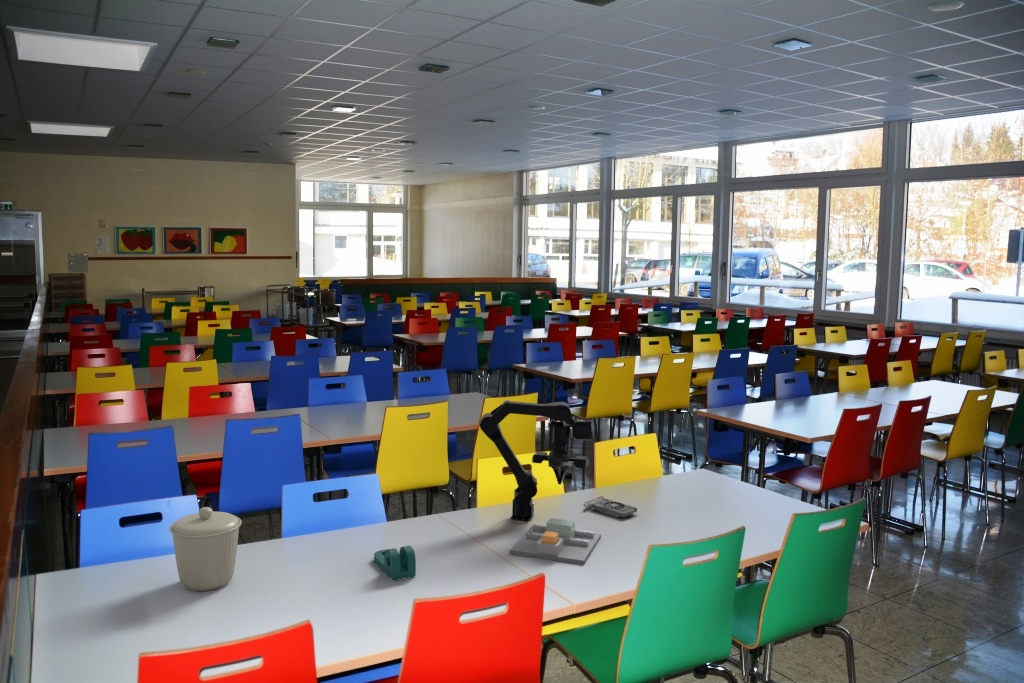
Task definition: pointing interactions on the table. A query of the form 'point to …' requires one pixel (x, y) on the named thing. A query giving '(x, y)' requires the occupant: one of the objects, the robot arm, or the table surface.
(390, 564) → the bracket
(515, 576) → the table surface
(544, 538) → the button
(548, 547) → the rail board
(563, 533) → the block
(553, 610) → the table surface
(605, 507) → the graphics card
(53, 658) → the table surface
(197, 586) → the canister
